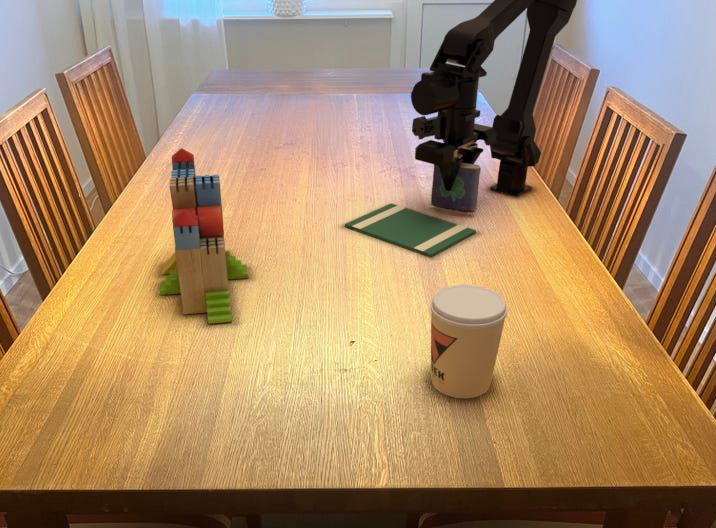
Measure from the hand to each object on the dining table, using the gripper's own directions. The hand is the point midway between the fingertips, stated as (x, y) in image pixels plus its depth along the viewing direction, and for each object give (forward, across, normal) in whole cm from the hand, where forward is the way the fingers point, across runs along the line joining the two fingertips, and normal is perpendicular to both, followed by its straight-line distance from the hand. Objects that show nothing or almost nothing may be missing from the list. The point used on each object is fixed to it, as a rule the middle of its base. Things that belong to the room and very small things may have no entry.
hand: (453, 188), depth 143 cm
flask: (+4, 0, 0) cm, 4 cm away
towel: (+5, +12, -1) cm, 13 cm away
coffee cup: (+5, +47, +34) cm, 58 cm away
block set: (+5, +51, -13) cm, 53 cm away
